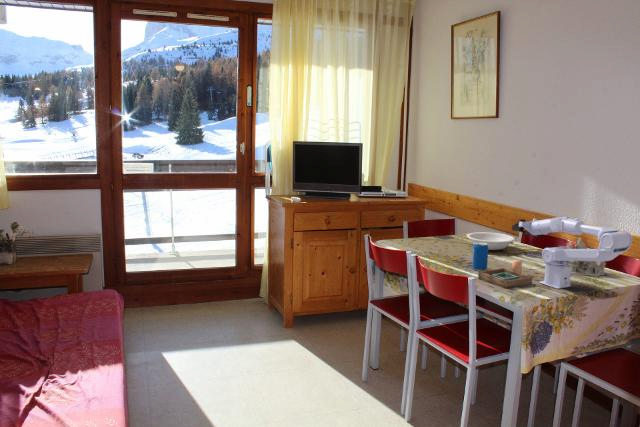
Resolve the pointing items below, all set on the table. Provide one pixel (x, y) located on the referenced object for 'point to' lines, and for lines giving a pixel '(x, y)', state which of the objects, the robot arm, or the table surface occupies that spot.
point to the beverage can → (480, 256)
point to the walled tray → (505, 278)
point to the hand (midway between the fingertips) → (519, 230)
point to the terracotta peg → (517, 266)
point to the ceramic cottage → (585, 263)
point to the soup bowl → (491, 239)
